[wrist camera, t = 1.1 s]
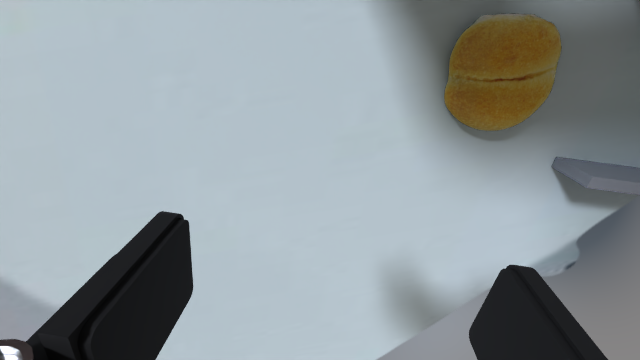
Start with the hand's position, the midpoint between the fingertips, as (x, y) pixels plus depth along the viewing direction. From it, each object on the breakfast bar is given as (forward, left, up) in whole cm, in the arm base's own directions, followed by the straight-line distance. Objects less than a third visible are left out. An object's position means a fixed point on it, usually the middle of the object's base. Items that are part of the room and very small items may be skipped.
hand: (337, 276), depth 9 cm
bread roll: (-6, +12, -21) cm, 25 cm away
